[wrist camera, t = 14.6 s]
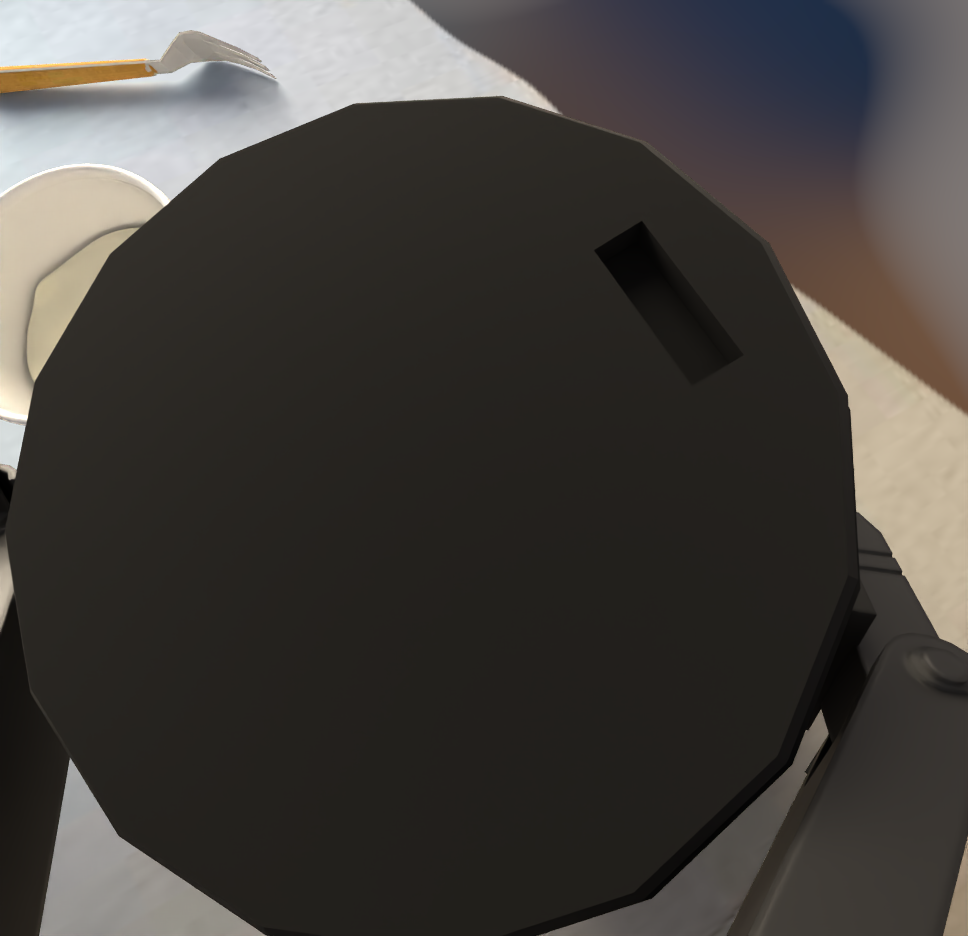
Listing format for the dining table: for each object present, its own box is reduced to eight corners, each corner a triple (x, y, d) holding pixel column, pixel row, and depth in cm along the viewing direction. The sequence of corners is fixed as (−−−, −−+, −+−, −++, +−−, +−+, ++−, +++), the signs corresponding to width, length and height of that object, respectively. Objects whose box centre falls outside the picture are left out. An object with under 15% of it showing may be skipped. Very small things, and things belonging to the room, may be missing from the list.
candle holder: (362, 369, 31) (246, 247, 20) (248, 517, 31) (58, 481, 19) (232, 278, 33) (57, 117, 22) (122, 414, 33) (-120, 325, 21)
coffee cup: (554, 311, 19) (550, -90, 8) (752, 601, 17) (1178, 654, 5) (275, 481, 20) (-143, 338, 8) (433, 793, 17) (170, 1256, 5)
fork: (-41, 87, 36) (258, 56, 33) (-43, 56, 36) (257, 22, 33) (-2, 109, 39) (280, 83, 36) (-3, 80, 39) (279, 51, 36)
